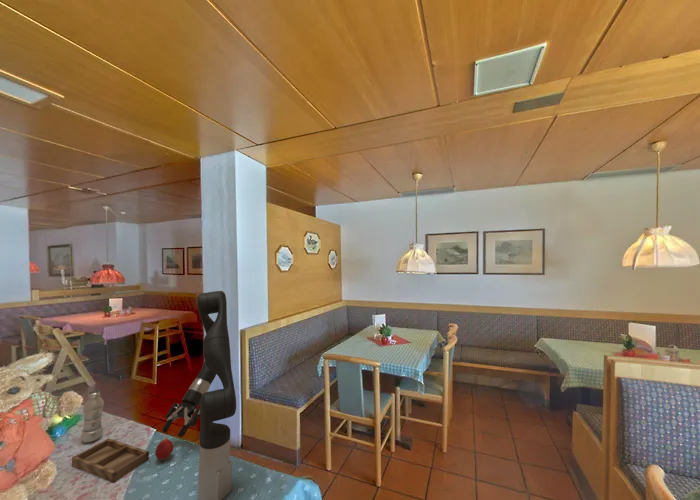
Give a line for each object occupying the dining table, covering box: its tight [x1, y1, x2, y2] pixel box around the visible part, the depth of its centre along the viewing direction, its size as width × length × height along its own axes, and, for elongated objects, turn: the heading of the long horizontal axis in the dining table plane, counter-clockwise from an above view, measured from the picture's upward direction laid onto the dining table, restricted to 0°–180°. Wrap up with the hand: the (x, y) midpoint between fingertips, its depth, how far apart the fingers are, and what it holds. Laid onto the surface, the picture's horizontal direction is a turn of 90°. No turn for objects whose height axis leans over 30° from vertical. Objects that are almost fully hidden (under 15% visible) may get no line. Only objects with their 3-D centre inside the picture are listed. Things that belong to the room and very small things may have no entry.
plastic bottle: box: [80, 389, 105, 444], centre depth 118 cm, size 6×7×20 cm
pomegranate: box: [154, 437, 174, 461], centre depth 108 cm, size 6×6×8 cm
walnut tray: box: [71, 438, 150, 483], centre depth 105 cm, size 23×12×3 cm, turn 71°
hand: (171, 434), depth 110 cm, fingers open, 8 cm apart
